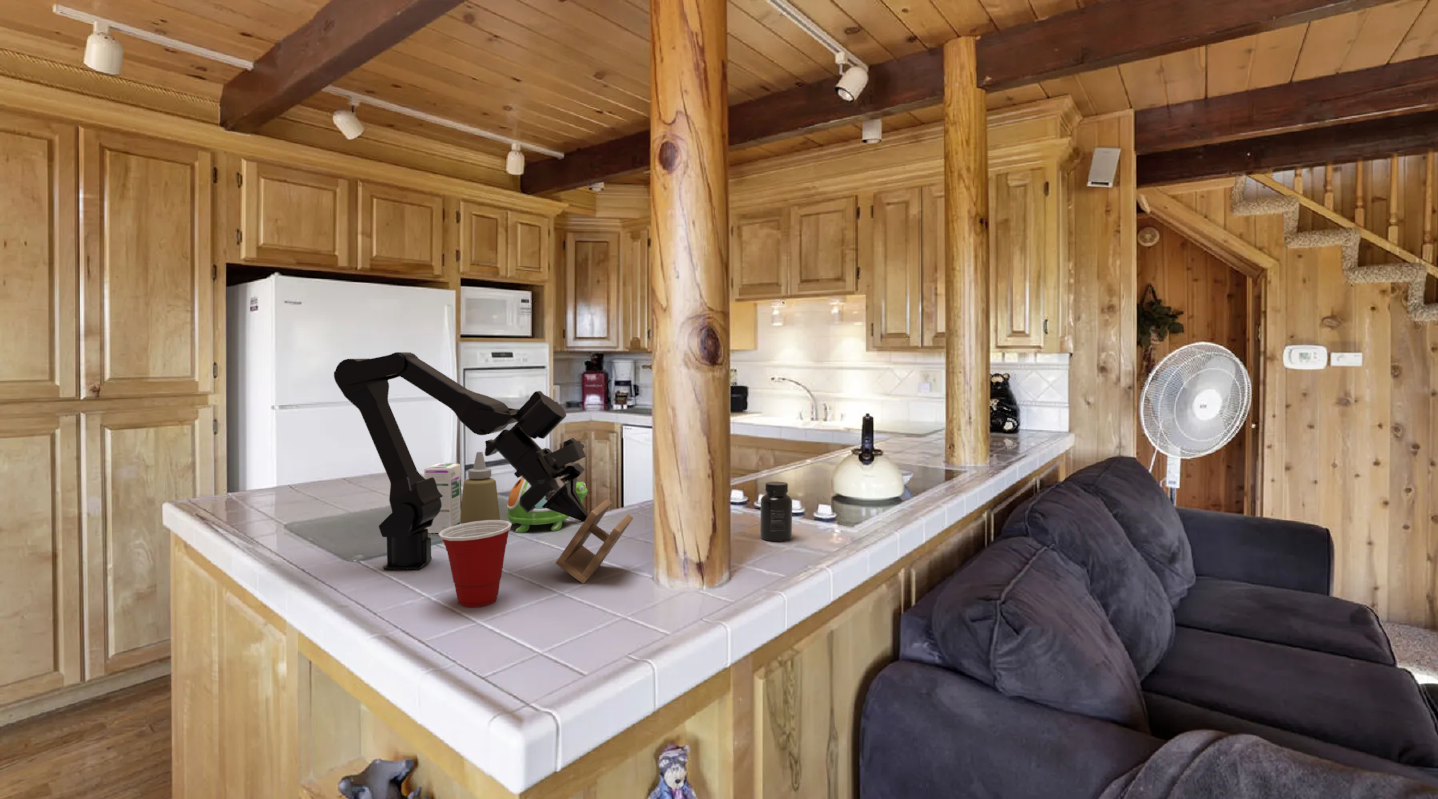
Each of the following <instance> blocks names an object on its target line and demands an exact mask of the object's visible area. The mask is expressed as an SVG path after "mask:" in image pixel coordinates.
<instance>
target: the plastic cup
mask: <svg viewBox="0 0 1438 799" xmlns="http://www.w3.org/2000/svg"><path fill="white" fill-rule="evenodd" d="M512 523H513V522H511V521H510V520H503V519H500V520H485V521H475V522H469V523H464V524H459V525H456V526H452V527H449V528H447V529H444V530H442V531H441V532H440V533H439V534H438V537H439V538H440V539H441V540H442V541H443V544H444V546H445V551H446V552H447V557H448V562H449V566H450V571H451V575H452V581H453V585H454V588H455V594H456V599H457V601H458V604H459V605H460V606H463V607H467V608H476V607H478V608H480V607H486V606H487V605H491V604H493V603H494V602H496V600H497V598H498V594H499V590H500V584H501V578H502V574H503V567H504V560H505V553H506V546H507V544H508V538H509V533H510V530H511V527H512Z"/></svg>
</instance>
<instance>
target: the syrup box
mask: <svg viewBox="0 0 1438 799" xmlns="http://www.w3.org/2000/svg"><path fill="white" fill-rule="evenodd" d="M461 470H462V469H461V464H460V463H458V462H457V463H454V462H440V463H434V464H433V465H429V466H427V467H425V468H423V471H424V473H423V475H424V476H423V477H424V478H425V479H428V478H431V477H433V478H434V479H435V481H436V485H437V489H438V491H439V492H440V493H441V494H442V496H443V497H441V498H440V499H441V503H442V507H441V509H440V512H439V514H438V515H437V516H436V517H435V518H434V520H433V523H432V526H430V527H427V528H425V529H428V534H431V533H440V532H441V531H442V530H444V529H447V528H449V527H452V526H456V525H459V524H461V523H460V515H461V505H462V477H461V476H462V475H461V474H462V472H461Z"/></svg>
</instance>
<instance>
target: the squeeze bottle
mask: <svg viewBox="0 0 1438 799" xmlns="http://www.w3.org/2000/svg"><path fill="white" fill-rule="evenodd" d="M484 456H485V455H484V453H483V451H477V452H476V455H475V458H474V463H473V468H469V469H468V470H467V477H468V479H465V480H464V481H463V486H462V494H461V500H462V505H461V515H460V523H461V524H464V523H469V522H475V521H485V520H501V517H500V516H501V514H500V507H499V506H500V505H499V498H498V497H499V496H498V488H497V481H496V480H495V479H494V478H492V468H490V467H487V466H486V461H485V457H484Z"/></svg>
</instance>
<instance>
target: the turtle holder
mask: <svg viewBox="0 0 1438 799" xmlns="http://www.w3.org/2000/svg"><path fill="white" fill-rule="evenodd" d="M530 487H531V485H530V484H529V483H528V482H527V481H526V480H525V479H524V478H523V477H522V476H521V477H519V478H518V480H517V481H516V483H514V485H513V486H512V488H511V490H510V493H509V495H508V500H507V504H506V508H507V511H508V513H507V519H508V521H509V522H510V523H515V524H520V525H519V527H517V528H516V529H515V530H514V531H515V532H516V533H526V532H528V530H529V529H530V527H531V526H532V525H534V526H536V525H537V526H538V525H547V524H548V525H549V524H552V525H551V527H550V531H551V532H556V531H560V530H561V528H562V526H563V521H565V520H567V519H568V518H570V517H569V516H567V515H564V514H561V513H559V512H556V511H553V510H550V509H547V508H542V506H543V505H544V504H545V503H546V502H547V501H546V500H545V498H546V497H545V496H544V498H543V499H542V500H541V501H540V502H539V503H538V504H536V505H535V507H536V508H535V509H534V510H532V511H530V512H529V513H527V512H526V511H525V510H524V509H523V508H522V507H521V506H520V497H521V496H522V495H523V494H524V493H525V492H526V491H527V490H528V489H529V488H530ZM576 492H577V494H578V496H579V498H580V500H581V502H582V504H583V505H584V502H585V501H584V500H585V497H587V495H588V492H589V491H588V487H587V485H586V483H585V481H577V482H576Z"/></svg>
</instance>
